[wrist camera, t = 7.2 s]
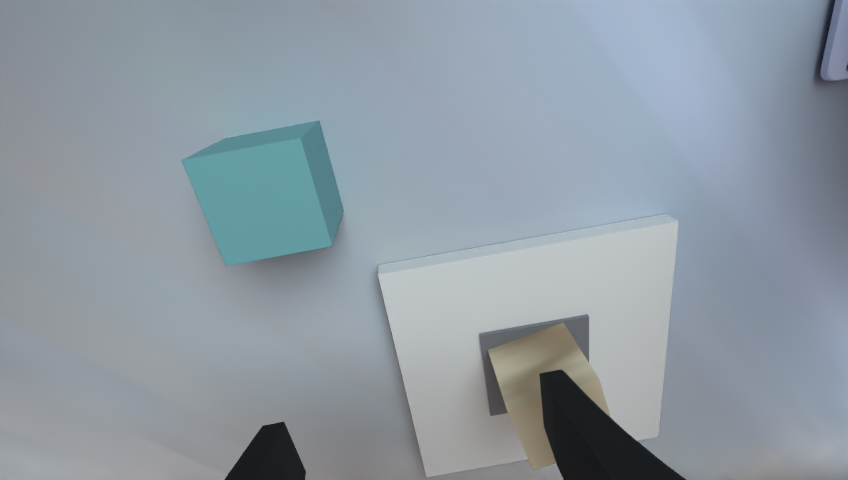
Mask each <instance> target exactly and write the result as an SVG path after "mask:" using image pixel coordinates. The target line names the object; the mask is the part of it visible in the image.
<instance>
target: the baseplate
mask: <svg viewBox="0 0 848 480" xmlns="http://www.w3.org/2000/svg"><path fill="white" fill-rule="evenodd" d="M678 225H679V221H677V220H675V219H674V218H672V217H670V216H669V215H667V214H663V215H657V216H651V217H646V218H640V219H634V220H629V221H623V222H617V223H612V224H606V225H601V226H595V227H589V228H584V229H578V230H572V231H567V232H561V233H556V234H550V235H544V236H539V237H533V238H527V239H522V240H516V241H511V242H505V243H499V244H494V245H488V246H482V247H477V248H471V249H465V250H460V251H454V252H449V253H443V254H437V255H432V256H426V257H420V258H415V259H409V260H404V261H398V262H392V263H387V264H381V265H379V266H378V277H379V282H380V286H381V290H382V294H383V298H384V302H385V307H386V311H387V315H388V319H389V323H390V327H391V332H392V336H393V340H394V344H395V348H396V352H397V357H398V361H399V365H400V369H401V373H402V377H403V382H404V386H405V390H406V394H407V398H408V402H409V407H410V411H411V415H412V419H413V423H414V427H415V432H416V436H417V440H418V444H419V448H420V452H421V457H422V461H423V465H424V469H425V473H426V477H431V476H437V475H443V474H449V473H454V472H460V471H466V470H471V469H477V468H483V467H489V466H494V465H500V464H506V463H512V462H517V461H523V460H528V457H527V455H526V453H525V450H524V448H523V446H522V444H521V441H520V439H519V437H518V435H517V432H516V430H515V428H514V426H513V423H512V421H511V419H510V417H509V414H508V412H507V409H506V406H505V403H504V400H503V396H502V393H501V390H500V387H499V384H498V381H497V378H496V374H495V371H494V368H493V365H492V362H491V359H490V356H489V352H488V350H489V349H492V348H495V347H497V346H500V345H503V344H506V343H508V342H511V341H514V340H517V339H519V338H522V337H525V336H527V335H530V334H533V333H536V332H538V331H541V330H544V329H546V328H549V327H552V326H555V325H557V324H560V323H564V324H565V326H566V327H567V329H568V330H569V332H570V334H571V335H572V337H573V338H574V340H575V342H576V343H577V345H578V346H579V348H580V349H581V351H582V353H583V354H584V356H585V357H586V359H587V361H588V362H589V364H590V365H591V367H592V368H593V370H594V372H595V373H596V375H597V376H598V378H599V380H600V383H601V386H602V390H603V393H604V396H605V400H606V403H607V407H608V410H609V413H610V417H611V418H612V419H613V420H614V421H615V422H616V423H617V424H618V425H619V426H620V427H622V428H623V429H624V430H625V431H626V432H627V433H628V434H629V435H631V436H632V437H633V438H634V439H635V440H636V441H638V440H643V439H649V438H655V437H658V434H659V424H660V413H661V403H662V392H663V382H664V371H665V361H666V350H667V340H668V330H669V319H670V309H671V298H672V288H673V277H674V267H675V256H676V246H677V236H678Z"/></svg>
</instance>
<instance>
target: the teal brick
mask: <svg viewBox="0 0 848 480" xmlns="http://www.w3.org/2000/svg"><path fill="white" fill-rule="evenodd" d="M182 163H183V165H184V168H185V170H186V172H187V175H188V177H189V180H190V182H191V184H192V187H193V189H194V192H195V194H196V196H197V199H198V201H199V203H200V206H201V208H202V211H203V213H204V215H205V218H206V220H207V223H208V225H209V227H210V230H211V232H212V235H213V237H214V239H215V242H216V244H217V246H218V249H219V251H220V254H221V256H222V258H223V261H224V263H225V266H229V265H234V264H240V263H245V262H250V261H256V260H261V259H266V258H272V257H277V256H282V255H288V254H293V253H298V252H304V251H309V250H314V249H320V248H325V247H330V246H332V245H333V242H334V239H335V236H336V232H337V229H338V226H339V223H340V220H341V217H342V213H343V206H342V202H341V199H340V195H339V191H338V188H337V184H336V180H335V176H334V173H333V169H332V165H331V162H330V158H329V154H328V151H327V147H326V143H325V140H324V136H323V132H322V128H321V125H320V121H315V122H310V123H305V124H299V125H294V126H289V127H284V128H278V129H273V130H268V131H263V132H257V133H252V134H247V135H242V136H236V137H231V138H226V139H223V140H221V141H219V142H217V143H215V144H213V145H211V146H209V147H207V148H205V149H203V150H201V151H199V152H197V153H195V154H193V155H191V156H189V157H187V158H185V159H183V160H182Z"/></svg>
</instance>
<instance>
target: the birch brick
mask: <svg viewBox="0 0 848 480" xmlns="http://www.w3.org/2000/svg"><path fill="white" fill-rule="evenodd" d="M488 352H489V356H490V359H491V362H492V365H493V368H494V371H495V374H496V378H497V381H498V384H499V387H500V390H501V393H502V396H503V400H504V403H505V406H506V409H507V412H508V414H509V417H510V419H511V421H512V423H513V426H514V428H515V430H516V432H517V435H518V437H519V439H520V441H521V444H522V446H523V448H524V450H525V453H526V455H527V457H528V460H529V462H530V464H531V466H532V469H533V470H536V469H539V468H542V467H545V466H548V465H551V464H554V463H556V461H555V458H554V455H553V452H552V449H551V446H550V443H549V441H548V438H547V435H546V432H545V429H544V423H543V411H542V400H541V388H540V376H539V373H544V372H550V371H555V370H560V369H561V370H563V371H564V372H566V373H567V375H568V376H569V377H570V378H571V379H572V380H573V381H574V382H575V383H576V384H577V385H578V386H579V387H580V388H581V389H582V390H583V391H584V392H585V393H586V394H587V395H588V396H589V397H590V398H591V399H592V400H593V401H594V402H595V403H596V404H597V405H598V406H599V407H600V408H601V409H602V410H603V411H604V412H605V413H606V414H607V415H608V416H609V417H610V413H609V410H608V407H607V403H606V400H605V396H604V393H603V390H602V386H601V383H600V380H599V378H598V376H597V375H596V373H595V372H594V370H593V368H592V367H591V365H590V364H589V362H588V361H587V359H586V357H585V356H584V354H583V353H582V351H581V349H580V348H579V346H578V345H577V343H576V342H575V340H574V338H573V337H572V335H571V334H570V332H569V330H568V329H567V327H566V326H565V324H564V323H560V324H557V325H555V326H552V327H549V328H546V329H544V330H541V331H538V332H536V333H533V334H530V335H527V336H525V337H522V338H519V339H517V340H514V341H511V342H508V343H506V344H503V345H500V346H497V347H495V348H492V349H489V350H488Z"/></svg>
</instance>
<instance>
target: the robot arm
mask: <svg viewBox="0 0 848 480" xmlns="http://www.w3.org/2000/svg"><path fill="white" fill-rule="evenodd" d="M847 64H848V0H835V5H834V9H833V14H832V19H831V23H830V28H829V33H828V38H827V42H826V47H825V52H824V56H823V61H822V66H821V74H820V75H821V77H822V78H823V79H824V80H830V81H838V80H843V79H848V68H847V69H846V66H847ZM539 376H540V388H541V400H542V411H543V423H544V429H545V432H546V435H547V438H548V441H549V443H550V446H551V449H552V452H553V455H554V458H555V461H556V463H557V466H558V468H559V470H560V472H561V475H562V477H563V479H564V480H686V479H685V478H683V477H682V476H680V475H679V474H678V473H676V472H675V471H674V470H672V469H671V468H670V467H668V466H667V465H666V464H665V463H663V462H662V461H661V460H660V459H658V458H657V457H656V456H655V455H653V454H652V453H651V452H650V451H648V450H647V449H646V448H645V447H644V446H642V445H641V444H640V443H639V442H638V441H636V440H635V439H634V438H633V437H632V436H631V435H629V434H628V433H627V432H626V431H625V430H624V429H623V428H622V427H620V426H619V425H618V424H617V423H616V422H615V421H614V420H613V419H612V418H611V417H609V416H608V415H607V414H606V413H605V412H604V411H603V410H602V409H601V408H600V407H599V406H598V405H597V404H596V403H595V402H594V401H593V400H592V399H591V398H590V397H589V396H588V395H587V394H586V393H585V392H584V391H583V390H582V389H581V388H580V387H579V386H578V385H577V384H576V383H575V382H574V381H573V380H572V379H571V378H570V377H569V376H568V375H567V373H566V372H564V371H563V370H561V369H560V370H555V371H550V372H544V373H539ZM305 474H306V471H305V469H304V466H303V464H302V462H301V460H300V457H299V455H298V453H297V450H296V448H295V446H294V444H293V441H292V439H291V437H290V434H289V432H288V430H287V428H286V425H285V423H284V422H281V423H276V424H270V425H265V426H262V428H261V429H260V430H259V432H258V433H257V434H256V436H255V437H254V439H253V440H252V441H251V443H250V444H249V446H248V447H247V449H246V450H245V451H244V453H243V454H242V456H241V457H240V458H239V460H238V461H237V463H236V464H235V466H234V467H233V468H232V470H231V471H230V473H229V474H228V475H227V477H226V478H225V480H305Z"/></svg>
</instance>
